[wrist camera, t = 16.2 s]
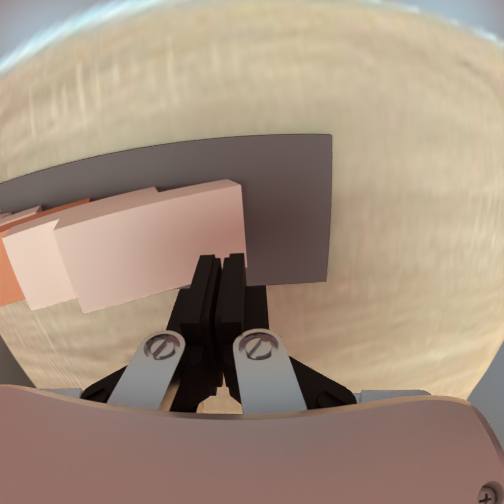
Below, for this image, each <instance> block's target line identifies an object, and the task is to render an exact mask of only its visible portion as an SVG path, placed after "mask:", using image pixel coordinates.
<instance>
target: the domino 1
mask: <svg viewBox="0 0 504 504" xmlns="http://www.w3.org/2000/svg"><path fill="white" fill-rule="evenodd" d="M90 202H91V200H90V198H86V199H83V200H79V201H76V202H72V203H69V204H65V205H62V206H59V207H55V208H52V209H49V210H46V211H43V212H40V213H37V214H34V215H31V216H28V217H25V218H22V219H19V220H16V221H13V222H10V223H8V224H5V225H2V226H0V306H3V305H7V304H10V303H13V302H17V301H20V300H23V299H26V298H25V296H24V294H23V292H22V290H21V287H20V285H19V283H18V280H17V278H16V276H15V273H14V271H13V268H12V266H11V263H10V260H9V258H8V255H7V252H6V249H5V246H4V243H3V240H2V238H3V236H4V235H5V234H6V233H7V232H8V231H9V229H10V228H11V227H14V226H16V225H19V224H22V223H25V222H28V221H31V220H34V219H37V218H40V217H43V216H46V215H49V214H52V213H55V212H59V211H62V210H65V209H69V208H72V207H75V206H79V205H82V204H86V203H90Z"/></svg>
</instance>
